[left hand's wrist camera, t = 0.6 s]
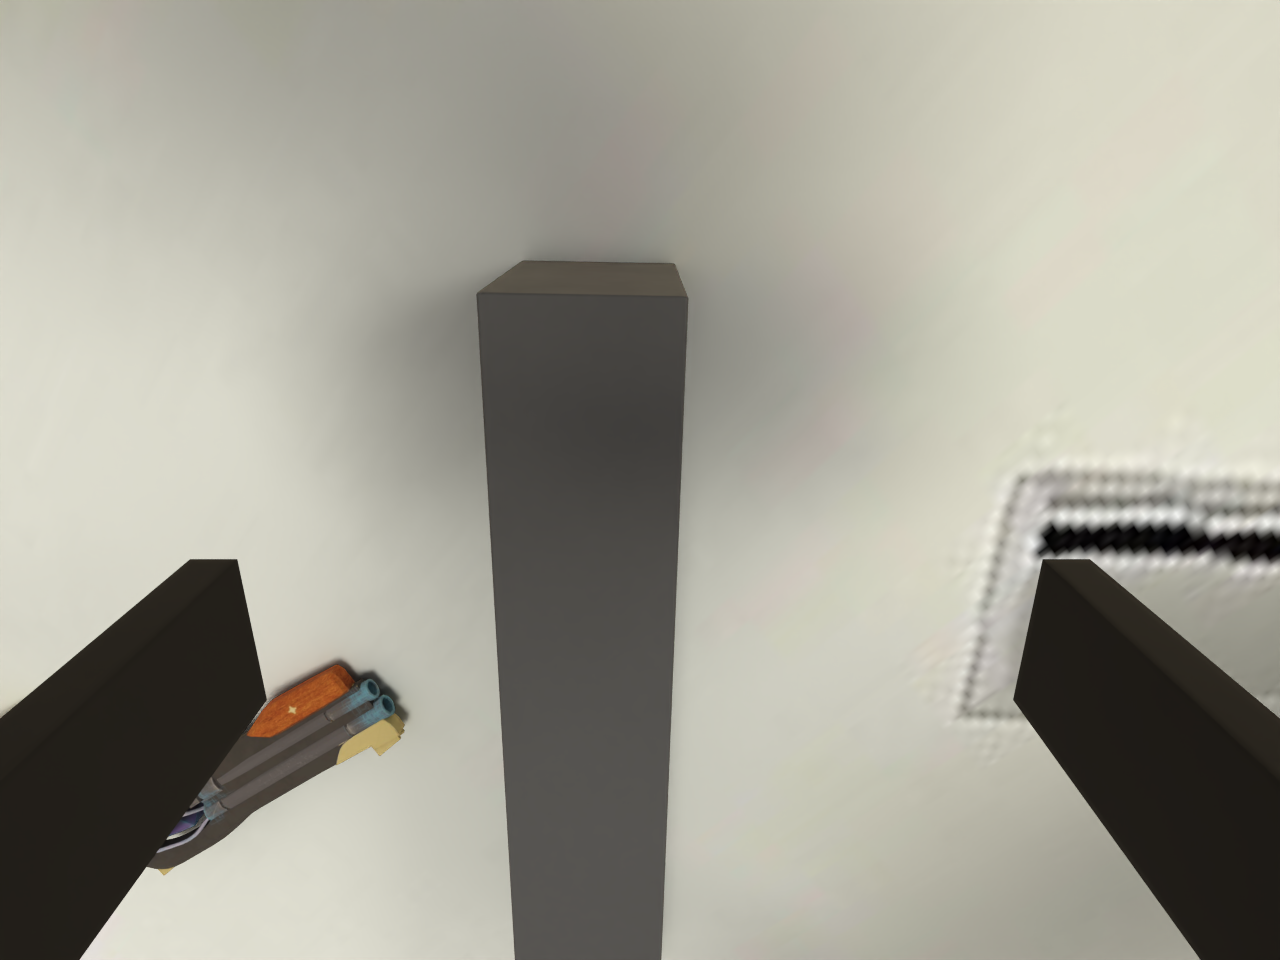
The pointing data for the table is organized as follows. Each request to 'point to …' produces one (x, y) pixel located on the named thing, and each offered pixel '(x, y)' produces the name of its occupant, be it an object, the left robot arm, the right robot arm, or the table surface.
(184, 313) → the table surface
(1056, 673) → the left robot arm
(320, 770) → the toy gun
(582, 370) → the bar
